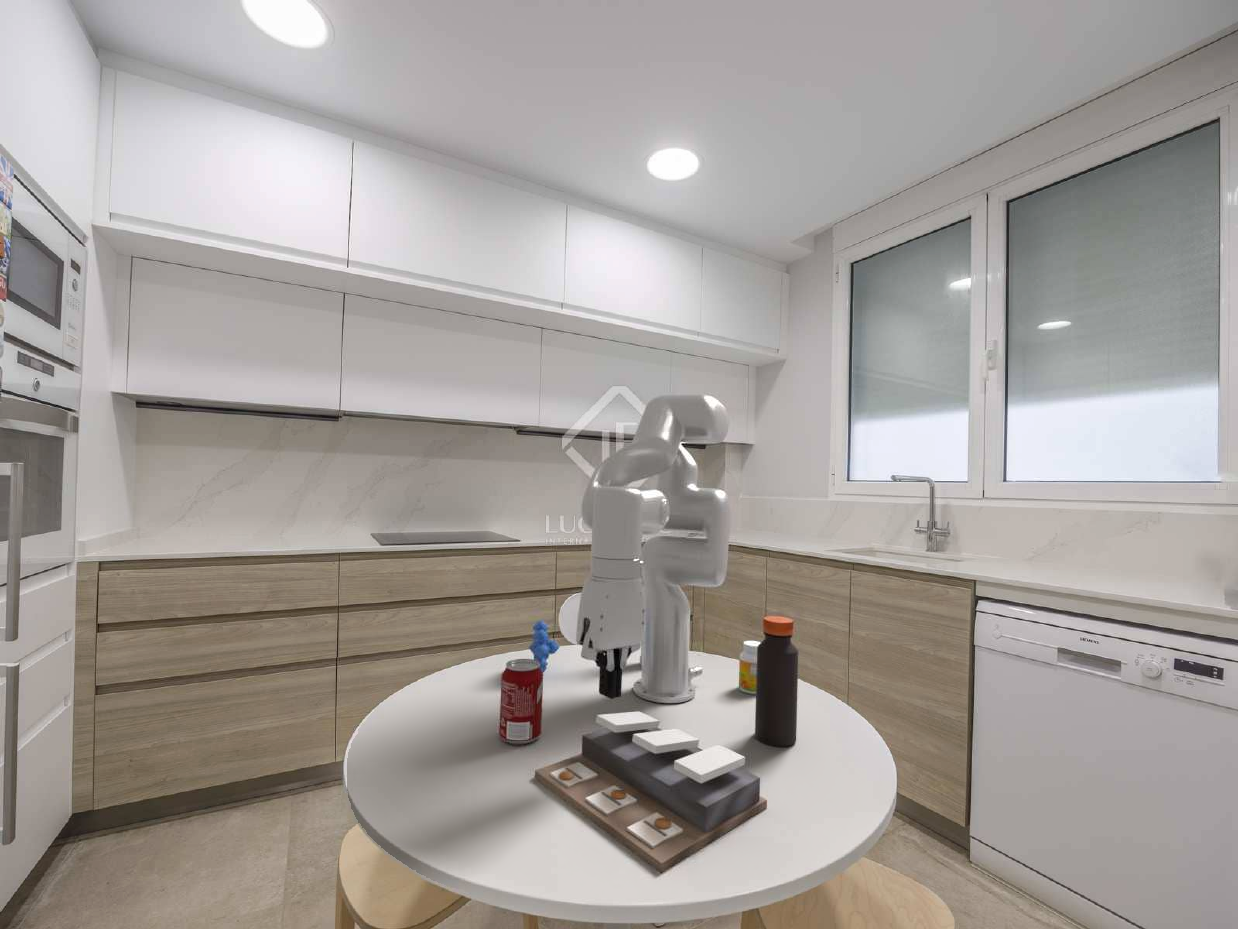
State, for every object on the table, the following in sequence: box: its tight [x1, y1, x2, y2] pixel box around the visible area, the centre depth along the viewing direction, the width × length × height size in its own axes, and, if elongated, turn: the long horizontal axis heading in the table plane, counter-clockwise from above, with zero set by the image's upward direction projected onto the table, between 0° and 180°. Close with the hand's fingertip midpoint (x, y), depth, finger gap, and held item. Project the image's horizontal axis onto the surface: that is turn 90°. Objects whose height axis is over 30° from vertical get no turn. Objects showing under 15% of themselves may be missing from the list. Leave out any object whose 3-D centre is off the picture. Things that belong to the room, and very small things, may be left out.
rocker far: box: [595, 711, 660, 733], centre depth 86 cm, size 9×4×1 cm, turn 131°
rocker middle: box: [632, 728, 700, 754], centre depth 80 cm, size 9×4×1 cm, turn 131°
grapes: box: [528, 620, 560, 674], centre depth 123 cm, size 12×7×12 cm, turn 11°
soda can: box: [498, 658, 544, 746], centre depth 93 cm, size 7×7×12 cm
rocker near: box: [674, 744, 746, 783], centre depth 74 cm, size 9×4×1 cm, turn 132°
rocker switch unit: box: [534, 727, 768, 873], centre depth 77 cm, size 20×25×4 cm
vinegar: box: [754, 615, 799, 748], centre depth 96 cm, size 7×7×20 cm
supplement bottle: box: [738, 640, 761, 695], centre depth 118 cm, size 5×5×10 cm
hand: (609, 695), depth 83 cm, fingers closed
